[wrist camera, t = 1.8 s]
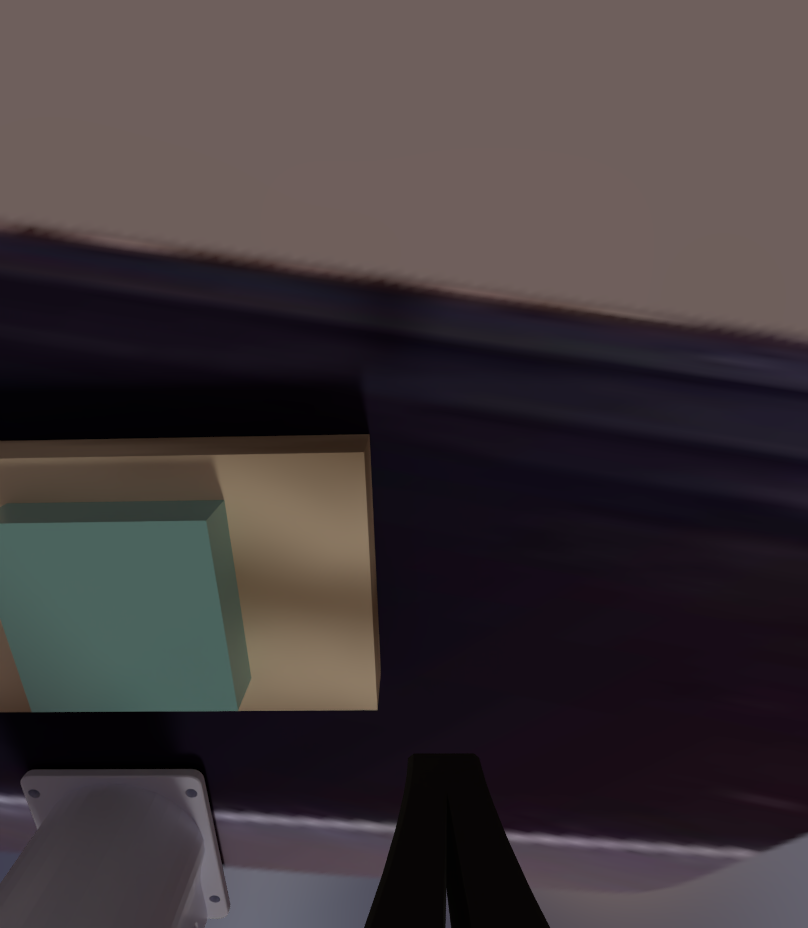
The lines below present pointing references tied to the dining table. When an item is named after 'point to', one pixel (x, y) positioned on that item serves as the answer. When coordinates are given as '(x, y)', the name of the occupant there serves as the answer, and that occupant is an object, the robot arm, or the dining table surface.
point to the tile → (123, 606)
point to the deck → (246, 546)
